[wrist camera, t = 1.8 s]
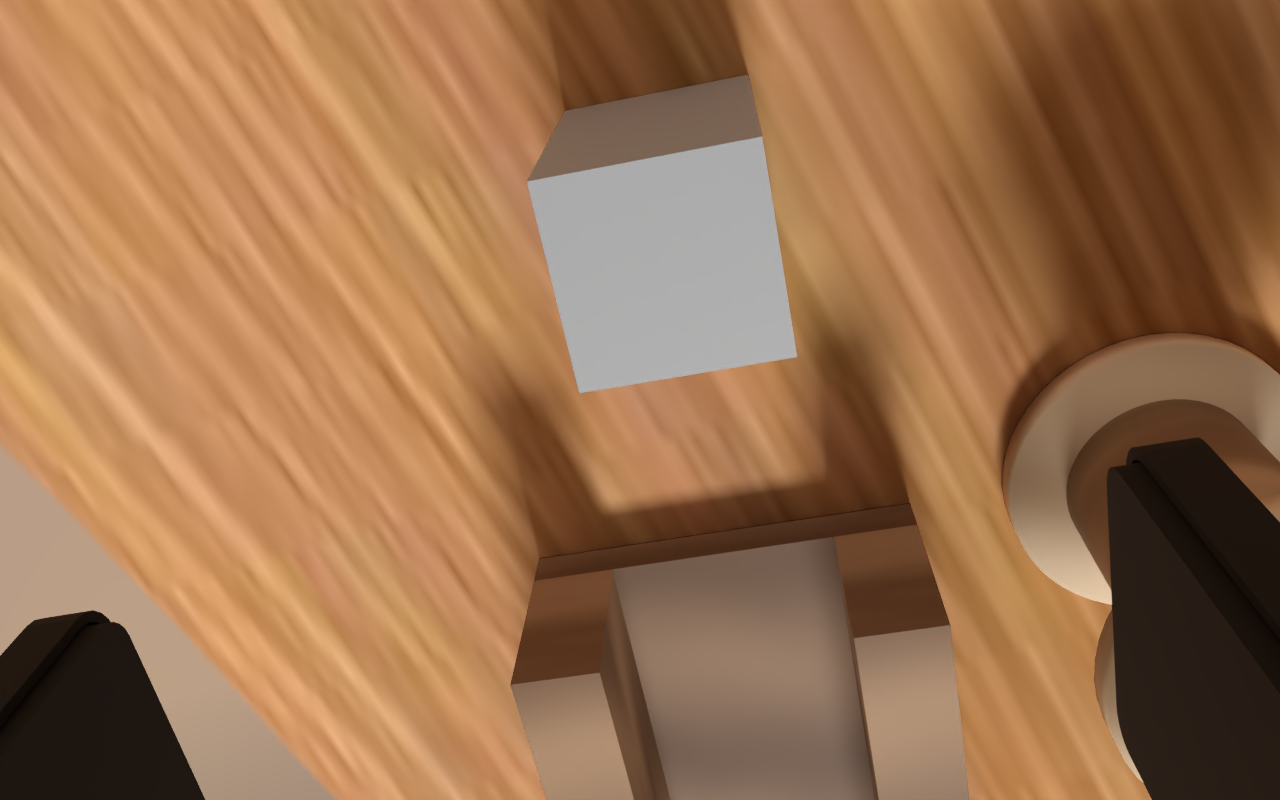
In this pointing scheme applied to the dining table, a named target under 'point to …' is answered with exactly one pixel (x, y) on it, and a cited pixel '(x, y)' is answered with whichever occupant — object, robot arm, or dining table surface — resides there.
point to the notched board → (745, 667)
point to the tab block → (663, 236)
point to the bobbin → (1102, 436)
